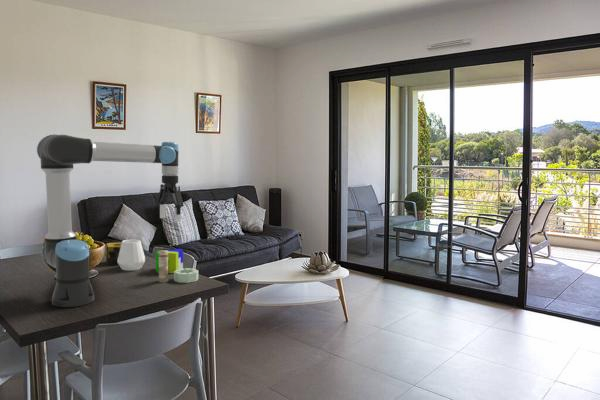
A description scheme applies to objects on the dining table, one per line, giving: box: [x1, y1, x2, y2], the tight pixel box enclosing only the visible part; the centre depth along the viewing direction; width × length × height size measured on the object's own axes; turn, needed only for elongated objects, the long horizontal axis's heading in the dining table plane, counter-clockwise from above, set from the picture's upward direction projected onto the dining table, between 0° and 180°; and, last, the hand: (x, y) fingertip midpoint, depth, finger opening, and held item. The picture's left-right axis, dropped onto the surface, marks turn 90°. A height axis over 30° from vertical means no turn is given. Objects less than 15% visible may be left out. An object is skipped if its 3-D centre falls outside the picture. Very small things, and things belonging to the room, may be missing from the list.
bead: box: [173, 267, 199, 284], centre depth 222 cm, size 10×10×4 cm
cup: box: [117, 239, 146, 272], centre depth 240 cm, size 13×13×14 cm
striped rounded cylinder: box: [158, 249, 169, 283], centre depth 218 cm, size 4×4×14 cm
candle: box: [105, 242, 122, 267], centre depth 250 cm, size 10×10×10 cm
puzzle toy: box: [155, 247, 184, 274], centre depth 238 cm, size 10×10×10 cm
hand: (169, 219), depth 227 cm, fingers open, 13 cm apart
